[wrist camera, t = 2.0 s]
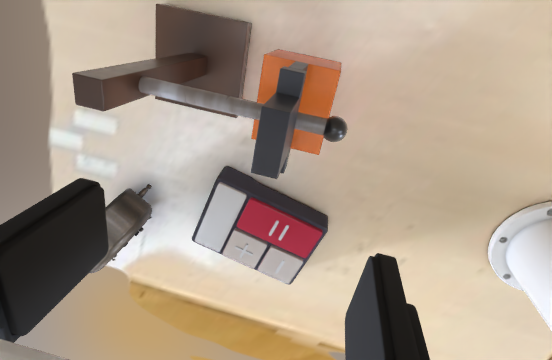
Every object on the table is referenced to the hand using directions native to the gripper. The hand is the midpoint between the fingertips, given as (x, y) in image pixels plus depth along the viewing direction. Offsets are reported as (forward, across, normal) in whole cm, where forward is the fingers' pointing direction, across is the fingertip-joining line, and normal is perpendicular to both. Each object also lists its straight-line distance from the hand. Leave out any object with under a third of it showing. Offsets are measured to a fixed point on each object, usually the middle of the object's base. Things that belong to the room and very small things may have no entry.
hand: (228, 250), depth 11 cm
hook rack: (+28, +6, -1) cm, 29 cm away
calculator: (+28, +2, +18) cm, 33 cm away
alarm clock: (+28, +20, +21) cm, 41 cm away
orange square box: (+23, 0, -1) cm, 23 cm away
